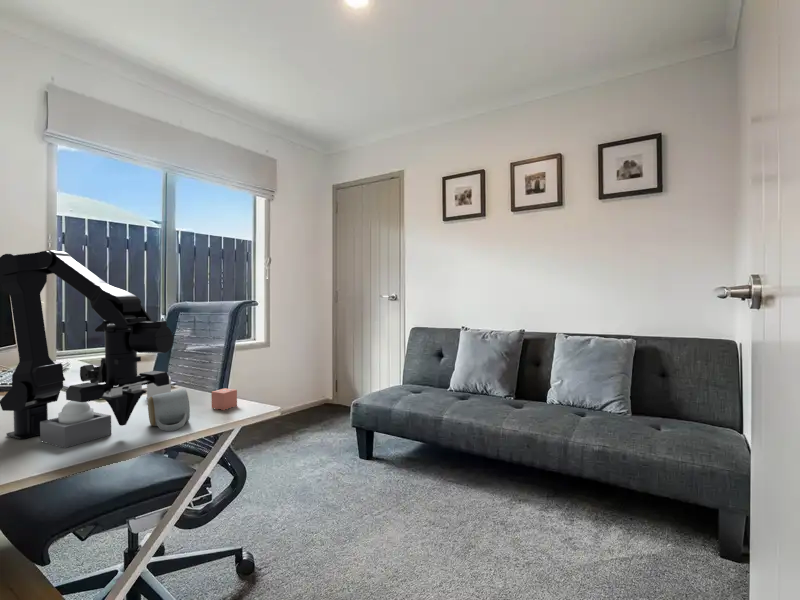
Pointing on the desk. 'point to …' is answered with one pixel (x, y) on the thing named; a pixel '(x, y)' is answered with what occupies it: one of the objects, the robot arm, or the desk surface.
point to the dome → (75, 413)
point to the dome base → (75, 430)
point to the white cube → (157, 389)
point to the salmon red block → (224, 398)
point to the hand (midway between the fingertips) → (122, 425)
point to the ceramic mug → (169, 409)
